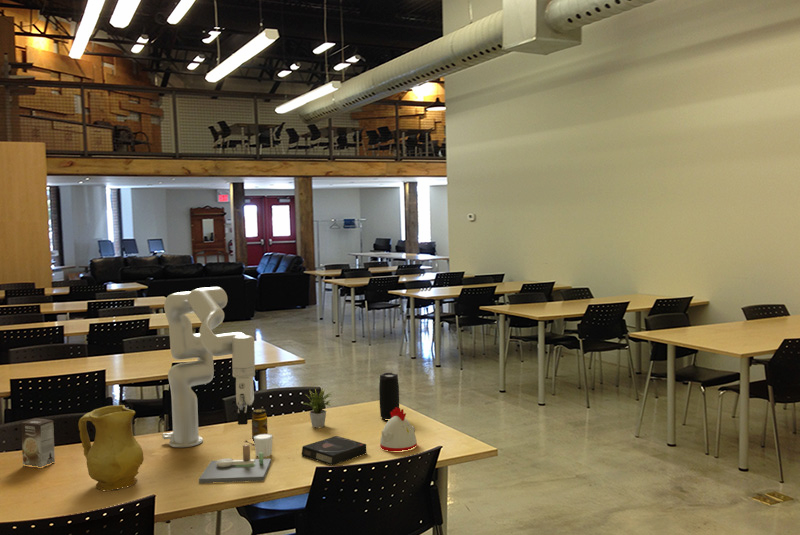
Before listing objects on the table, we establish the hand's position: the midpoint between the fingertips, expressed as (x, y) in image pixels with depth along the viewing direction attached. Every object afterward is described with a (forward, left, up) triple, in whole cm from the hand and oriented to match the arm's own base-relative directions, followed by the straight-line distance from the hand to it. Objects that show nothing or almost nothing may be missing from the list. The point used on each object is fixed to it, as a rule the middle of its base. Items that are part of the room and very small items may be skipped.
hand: (244, 420), depth 233 cm
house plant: (+22, +48, -17) cm, 56 cm away
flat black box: (+30, +11, -18) cm, 37 cm away
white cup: (+4, +14, -17) cm, 23 cm away
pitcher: (-41, -10, -17) cm, 46 cm away
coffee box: (-76, +12, -17) cm, 79 cm away
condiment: (-1, +32, -17) cm, 37 cm away
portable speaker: (+52, +57, -17) cm, 79 cm away
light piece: (-4, -1, -15) cm, 16 cm away
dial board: (-3, -4, -17) cm, 18 cm away
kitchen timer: (+54, +18, -17) cm, 59 cm away
